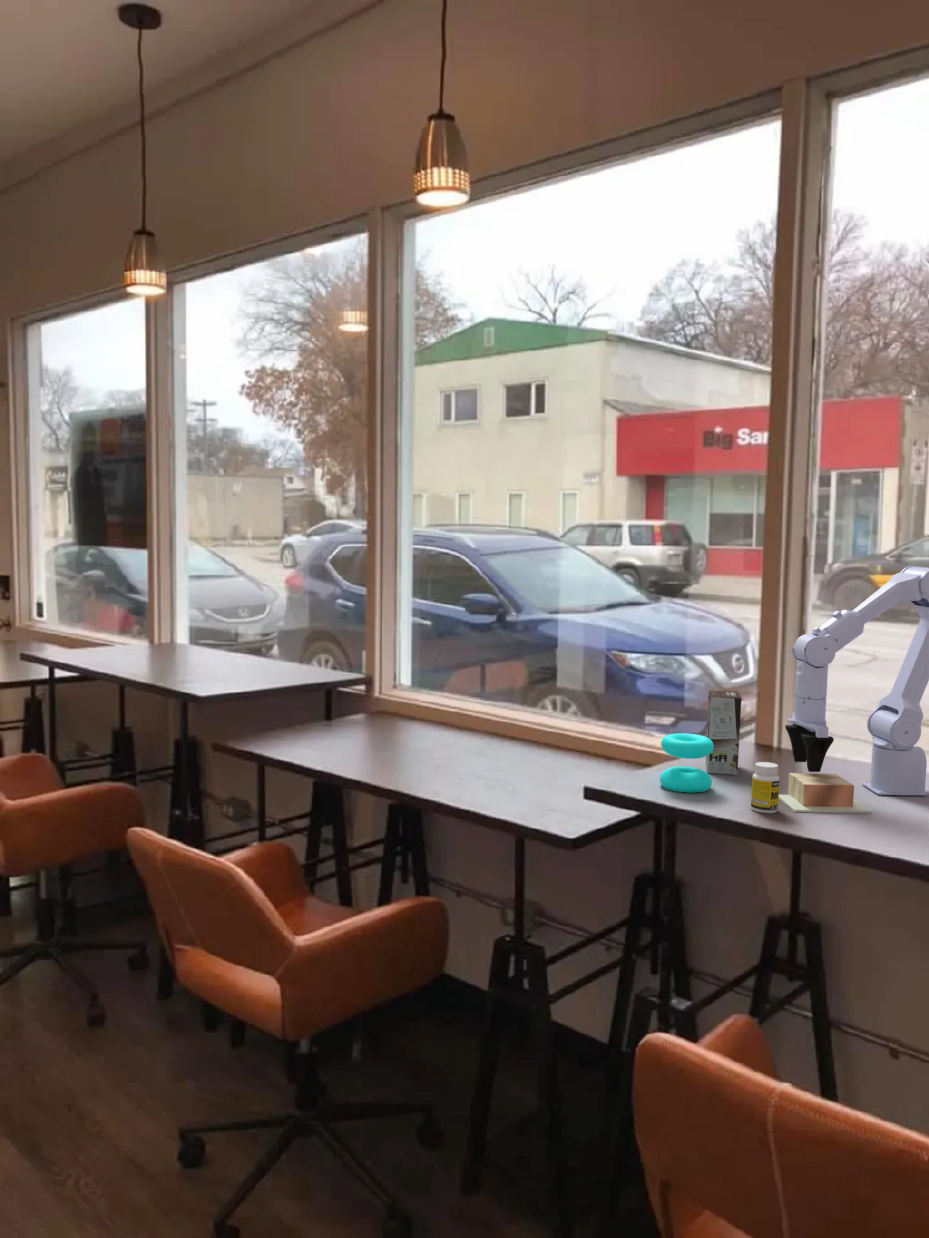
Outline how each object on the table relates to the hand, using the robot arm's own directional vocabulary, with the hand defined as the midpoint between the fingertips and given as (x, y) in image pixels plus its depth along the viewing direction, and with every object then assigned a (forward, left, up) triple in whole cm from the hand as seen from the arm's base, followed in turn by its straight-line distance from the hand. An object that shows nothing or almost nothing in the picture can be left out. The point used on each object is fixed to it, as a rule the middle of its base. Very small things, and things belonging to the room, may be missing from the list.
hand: (806, 766), depth 192 cm
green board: (0, +9, -5) cm, 10 cm away
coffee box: (+12, -17, -5) cm, 21 cm away
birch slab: (0, +3, -2) cm, 4 cm away
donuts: (+23, -2, -5) cm, 24 cm away
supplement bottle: (+12, +13, -5) cm, 18 cm away
